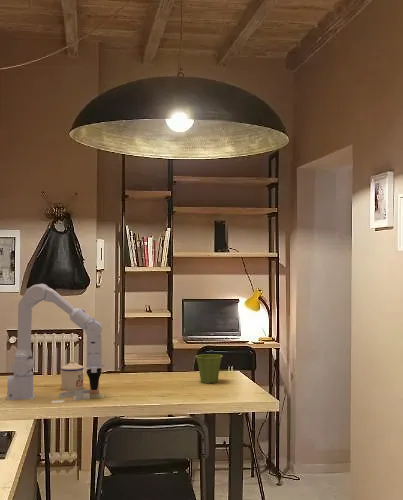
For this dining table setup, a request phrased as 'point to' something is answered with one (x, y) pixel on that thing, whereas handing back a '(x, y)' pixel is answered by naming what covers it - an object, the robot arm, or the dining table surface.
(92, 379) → the robot arm
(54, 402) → the board
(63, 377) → the teacup with lid
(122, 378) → the dining table surface
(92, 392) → the peg
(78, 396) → the rails
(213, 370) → the plant pot
